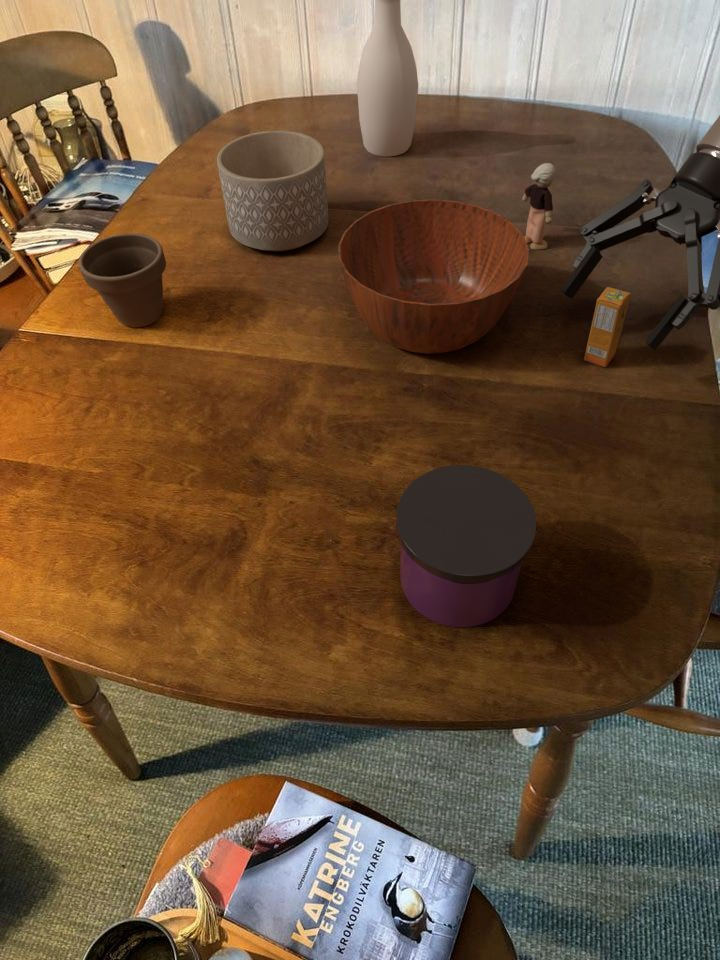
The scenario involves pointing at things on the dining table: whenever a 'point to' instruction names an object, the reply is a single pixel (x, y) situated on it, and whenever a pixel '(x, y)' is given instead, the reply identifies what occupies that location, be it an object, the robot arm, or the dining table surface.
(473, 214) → the bowl
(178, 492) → the dining table surface
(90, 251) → the flower pot
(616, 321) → the supplement box
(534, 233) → the grandmother figurine
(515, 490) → the jar
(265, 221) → the planter
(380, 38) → the bottle
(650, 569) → the dining table surface
